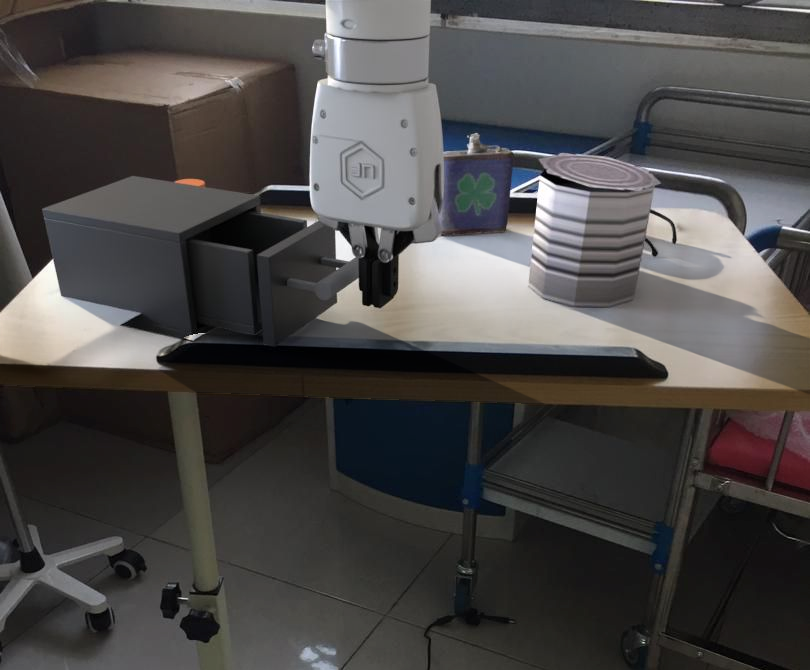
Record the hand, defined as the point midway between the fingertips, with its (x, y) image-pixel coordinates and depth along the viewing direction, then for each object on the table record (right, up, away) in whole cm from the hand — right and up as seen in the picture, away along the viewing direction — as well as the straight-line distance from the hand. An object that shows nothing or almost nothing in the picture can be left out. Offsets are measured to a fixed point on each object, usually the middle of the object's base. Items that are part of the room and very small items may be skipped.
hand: (378, 301), depth 76 cm
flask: (+10, +16, +30) cm, 36 cm away
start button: (-22, +19, +26) cm, 39 cm away
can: (+21, +6, +16) cm, 26 cm away
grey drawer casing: (-21, +2, +10) cm, 23 cm away
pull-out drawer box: (-11, 0, +6) cm, 12 cm away
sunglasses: (+28, +15, +28) cm, 42 cm away
